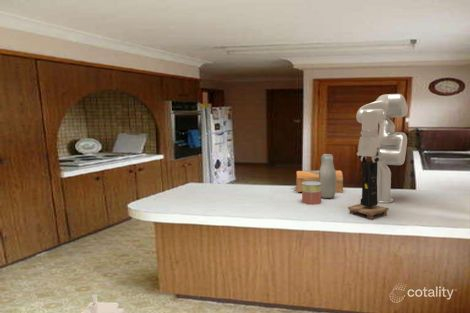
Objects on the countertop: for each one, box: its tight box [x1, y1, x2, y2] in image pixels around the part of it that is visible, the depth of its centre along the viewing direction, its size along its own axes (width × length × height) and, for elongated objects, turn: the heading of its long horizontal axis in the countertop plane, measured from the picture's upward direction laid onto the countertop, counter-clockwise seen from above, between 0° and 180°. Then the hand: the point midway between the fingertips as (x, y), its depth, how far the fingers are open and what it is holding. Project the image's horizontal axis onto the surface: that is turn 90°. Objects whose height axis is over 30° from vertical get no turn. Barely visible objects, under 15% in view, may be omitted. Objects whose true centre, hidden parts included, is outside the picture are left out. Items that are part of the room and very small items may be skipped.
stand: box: [347, 203, 389, 221], centre depth 175 cm, size 14×14×4 cm
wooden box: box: [295, 170, 344, 194], centre depth 228 cm, size 30×16×14 cm, turn 81°
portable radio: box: [360, 159, 378, 207], centre depth 172 cm, size 8×6×25 cm
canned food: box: [301, 181, 322, 206], centre depth 199 cm, size 11×11×12 cm
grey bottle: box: [318, 153, 336, 199], centre depth 207 cm, size 10×10×28 cm
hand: (368, 168), depth 172 cm, fingers closed on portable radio, 5 cm apart
